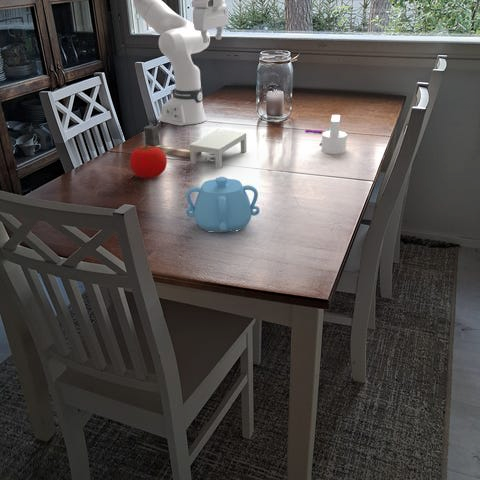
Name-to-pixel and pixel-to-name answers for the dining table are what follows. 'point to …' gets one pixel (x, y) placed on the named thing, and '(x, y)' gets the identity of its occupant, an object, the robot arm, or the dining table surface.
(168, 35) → the robot arm
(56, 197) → the dining table surface
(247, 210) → the decorative pot
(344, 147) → the cylinder with rectangular tab
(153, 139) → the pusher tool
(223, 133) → the low bench
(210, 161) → the steel puck
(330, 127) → the squeegee
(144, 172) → the tomato
